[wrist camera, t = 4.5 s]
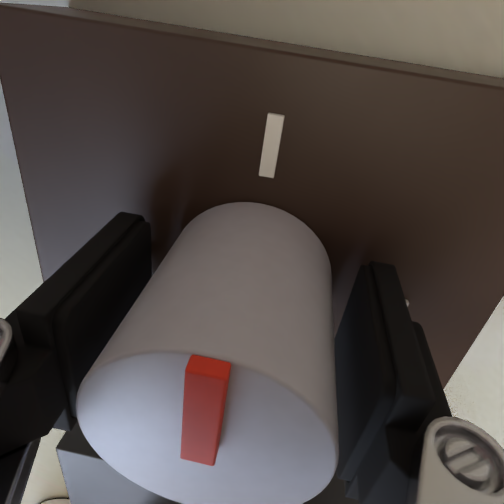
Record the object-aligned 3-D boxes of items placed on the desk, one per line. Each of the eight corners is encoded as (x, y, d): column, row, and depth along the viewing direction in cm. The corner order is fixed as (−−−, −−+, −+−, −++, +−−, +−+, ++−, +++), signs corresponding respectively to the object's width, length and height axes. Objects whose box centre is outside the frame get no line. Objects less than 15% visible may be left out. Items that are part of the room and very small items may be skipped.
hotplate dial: (311, 346, 11) (305, 555, 7) (172, 316, 12) (79, 499, 7) (351, 219, 9) (380, 411, 5) (175, 185, 9) (40, 336, 5)
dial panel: (99, 306, 16) (55, 361, 14) (64, 7, 10) (-24, 0, 8) (398, 370, 15) (414, 442, 13) (545, 84, 10) (632, 109, 7)
